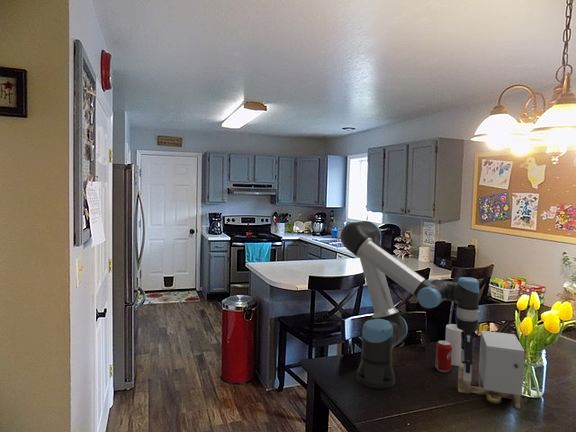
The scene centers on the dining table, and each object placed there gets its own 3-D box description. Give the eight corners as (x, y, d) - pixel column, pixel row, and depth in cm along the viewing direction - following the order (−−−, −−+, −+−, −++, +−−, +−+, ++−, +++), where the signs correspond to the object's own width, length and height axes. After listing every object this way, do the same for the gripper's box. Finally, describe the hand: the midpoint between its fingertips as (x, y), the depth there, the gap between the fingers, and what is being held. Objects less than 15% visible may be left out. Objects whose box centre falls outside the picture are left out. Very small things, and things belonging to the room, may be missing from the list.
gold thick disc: (487, 402, 153) (487, 397, 153) (485, 396, 158) (485, 391, 158) (502, 405, 151) (502, 399, 151) (500, 398, 156) (500, 393, 156)
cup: (467, 363, 188) (469, 328, 187) (456, 367, 183) (458, 331, 182) (451, 357, 194) (453, 323, 193) (440, 360, 190) (442, 325, 189)
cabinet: (483, 405, 150) (487, 347, 149) (478, 383, 168) (480, 330, 167) (521, 412, 146) (525, 352, 145) (511, 388, 164) (514, 334, 163)
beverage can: (452, 373, 176) (453, 345, 175) (436, 372, 177) (437, 344, 177) (449, 367, 182) (450, 340, 182) (434, 366, 184) (435, 339, 183)
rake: (459, 398, 155) (460, 372, 154) (457, 387, 164) (459, 362, 163) (520, 408, 149) (521, 381, 148) (514, 396, 158) (516, 370, 157)
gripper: (482, 329, 147) (480, 388, 148) (474, 311, 170) (473, 362, 171) (459, 327, 149) (457, 385, 150) (455, 309, 173) (453, 359, 174)
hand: (465, 373), depth 161 cm, fingers open, 13 cm apart
